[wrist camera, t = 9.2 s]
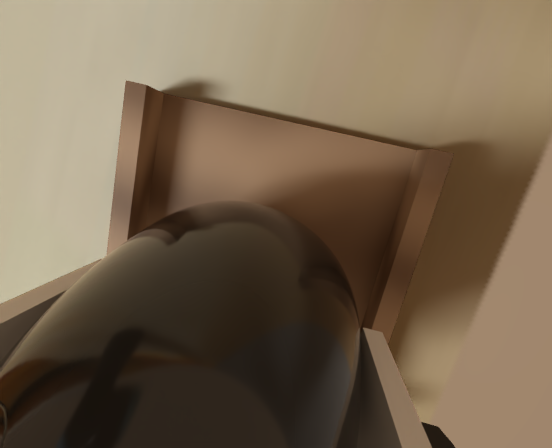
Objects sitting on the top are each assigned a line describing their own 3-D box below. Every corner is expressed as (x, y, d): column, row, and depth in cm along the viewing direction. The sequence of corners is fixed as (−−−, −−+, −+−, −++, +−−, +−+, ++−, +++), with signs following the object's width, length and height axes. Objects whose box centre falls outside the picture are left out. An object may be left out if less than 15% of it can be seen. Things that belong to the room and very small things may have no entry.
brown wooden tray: (153, 93, 16) (66, 53, 10) (431, 155, 15) (505, 149, 10) (107, 447, 21) (31, 553, 16) (314, 510, 20) (316, 647, 15)
